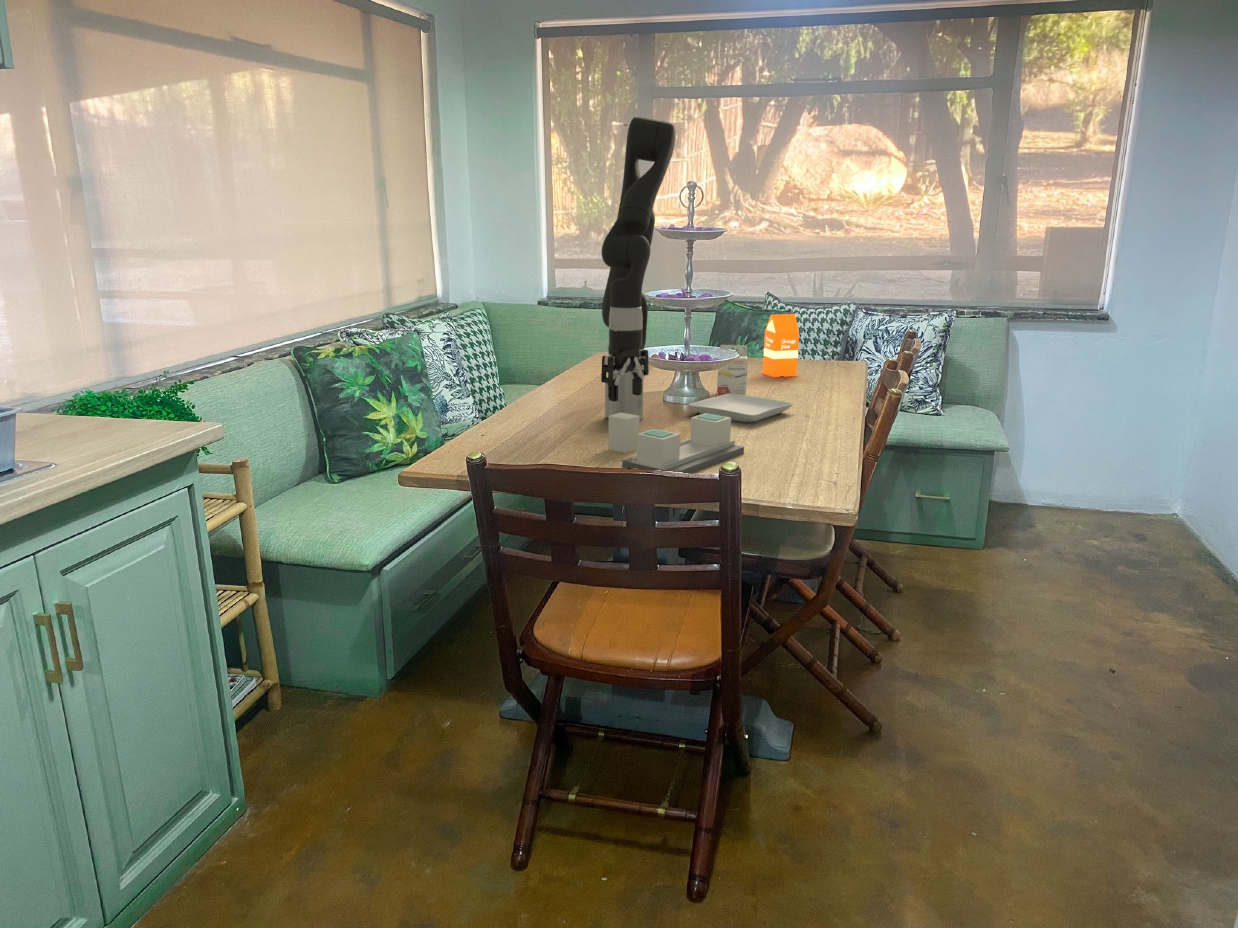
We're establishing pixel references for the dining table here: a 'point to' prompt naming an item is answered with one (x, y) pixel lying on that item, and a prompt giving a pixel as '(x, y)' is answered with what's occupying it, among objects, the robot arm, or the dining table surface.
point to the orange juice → (781, 346)
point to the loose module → (623, 432)
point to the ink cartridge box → (733, 373)
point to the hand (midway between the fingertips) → (625, 398)
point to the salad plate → (740, 407)
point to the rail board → (686, 446)
